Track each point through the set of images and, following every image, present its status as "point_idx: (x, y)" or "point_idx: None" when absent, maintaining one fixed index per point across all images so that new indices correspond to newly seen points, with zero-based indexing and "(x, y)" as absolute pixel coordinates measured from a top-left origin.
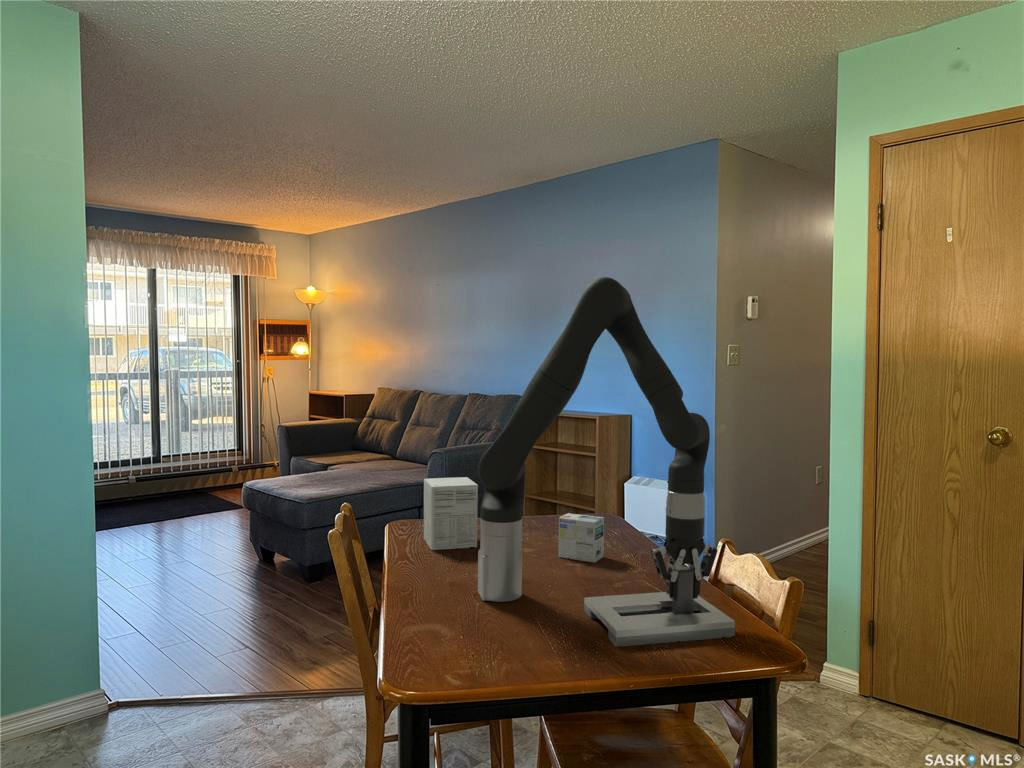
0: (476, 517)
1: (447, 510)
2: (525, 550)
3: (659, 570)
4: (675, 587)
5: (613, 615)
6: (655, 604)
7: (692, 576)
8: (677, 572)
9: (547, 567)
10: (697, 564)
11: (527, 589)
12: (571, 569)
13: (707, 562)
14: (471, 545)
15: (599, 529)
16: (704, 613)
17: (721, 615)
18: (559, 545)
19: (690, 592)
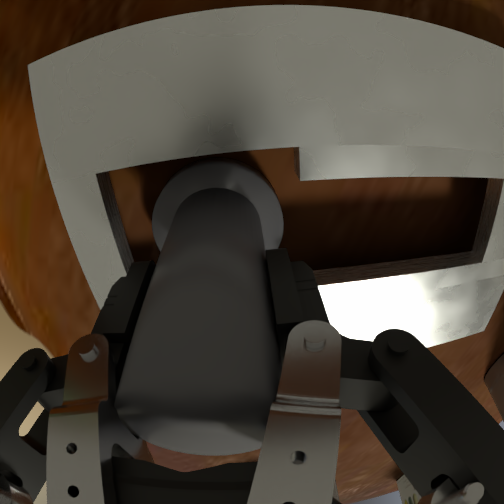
0: (420, 497)
1: None
2: (363, 476)
3: (397, 408)
4: (284, 294)
5: None
6: (328, 284)
7: (137, 353)
8: (285, 391)
9: (374, 453)
10: (68, 443)
11: (465, 387)
12: (343, 455)
13: (4, 436)
14: None
15: None
16: (131, 156)
17: (60, 132)
18: (336, 490)
19: (175, 261)
